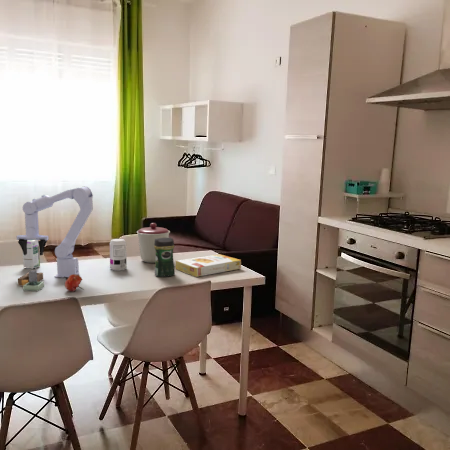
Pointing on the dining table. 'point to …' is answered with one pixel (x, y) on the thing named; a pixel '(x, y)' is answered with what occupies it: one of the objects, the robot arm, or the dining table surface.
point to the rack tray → (33, 288)
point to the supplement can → (118, 254)
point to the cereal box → (208, 265)
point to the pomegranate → (72, 282)
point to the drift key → (24, 282)
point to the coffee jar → (164, 257)
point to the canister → (150, 241)
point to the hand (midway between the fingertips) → (33, 254)
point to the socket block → (26, 277)
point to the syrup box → (32, 254)
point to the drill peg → (33, 278)
